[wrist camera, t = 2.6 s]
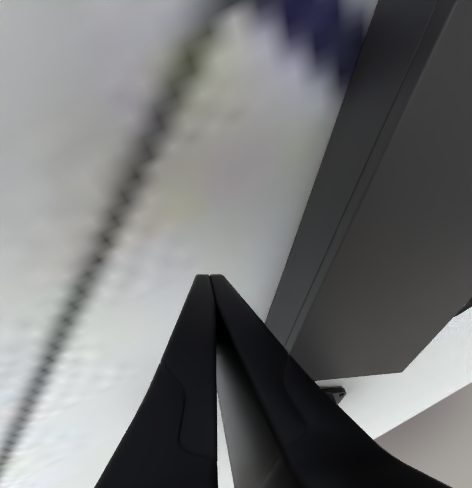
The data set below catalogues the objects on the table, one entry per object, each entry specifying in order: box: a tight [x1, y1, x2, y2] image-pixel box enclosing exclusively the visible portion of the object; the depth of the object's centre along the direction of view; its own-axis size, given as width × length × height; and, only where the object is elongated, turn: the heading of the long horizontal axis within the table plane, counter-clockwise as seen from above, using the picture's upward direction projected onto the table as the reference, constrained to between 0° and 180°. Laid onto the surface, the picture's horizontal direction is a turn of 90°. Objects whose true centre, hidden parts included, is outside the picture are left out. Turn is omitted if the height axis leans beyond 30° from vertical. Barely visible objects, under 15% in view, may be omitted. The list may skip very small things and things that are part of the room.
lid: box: [265, 0, 472, 381], centre depth 14 cm, size 20×10×4 cm, turn 170°
